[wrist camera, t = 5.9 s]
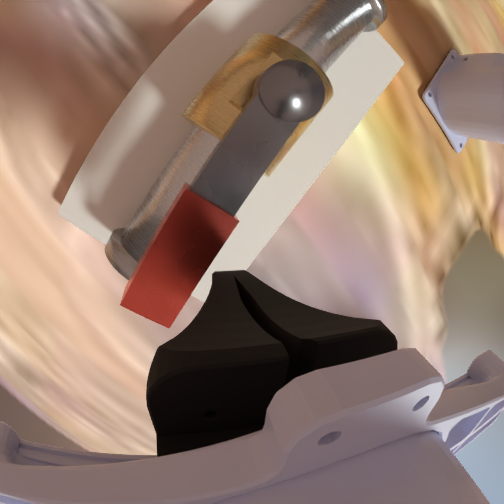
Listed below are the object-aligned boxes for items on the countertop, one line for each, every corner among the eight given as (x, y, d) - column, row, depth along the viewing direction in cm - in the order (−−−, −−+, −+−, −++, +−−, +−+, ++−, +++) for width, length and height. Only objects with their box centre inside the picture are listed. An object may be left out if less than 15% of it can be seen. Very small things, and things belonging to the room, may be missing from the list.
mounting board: (274, -42, 14) (279, -50, 13) (393, 64, 19) (404, 62, 18) (64, 208, 18) (57, 213, 17) (213, 298, 24) (215, 308, 23)
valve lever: (274, 56, 10) (287, 46, 9) (319, 92, 11) (337, 87, 10) (123, 286, 13) (118, 304, 11) (171, 309, 14) (171, 329, 12)
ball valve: (309, -14, 15) (357, -55, 8) (364, 35, 17) (426, 13, 11) (109, 228, 19) (78, 274, 12) (178, 270, 21) (180, 331, 15)
